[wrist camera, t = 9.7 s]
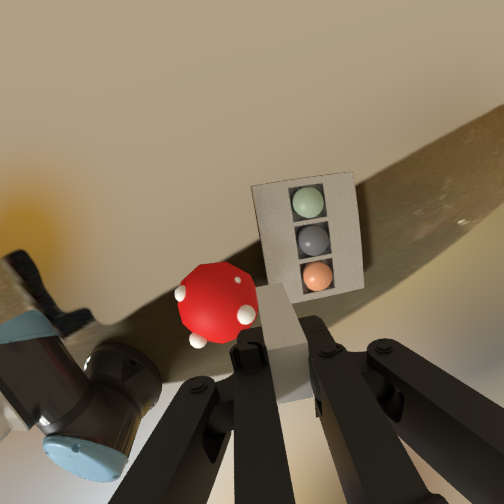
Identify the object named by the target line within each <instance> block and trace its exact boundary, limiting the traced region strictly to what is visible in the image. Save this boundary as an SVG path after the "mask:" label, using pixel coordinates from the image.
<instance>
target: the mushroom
mask: <svg viewBox="0 0 504 504" xmlns="http://www.w3.org/2000/svg"><path fill="white" fill-rule="evenodd" d="M255 287H256V286H255V284H254V282H253V280H252V278H251V276H250V274H248V273H246V272H244V271H242V270H241V269H239V268H237V267H235V266H233V265H231V264H230V263H228V262H219V263H210V264H201V265H199V266H198V267H196V268H195V269H194V270H193V271H192V272H191V273H190V274H189V275H188V276H187V277H185V278H184V279H183V280H182V281H181V285H180V286H179V287H178V288H177V289H176V290H175V299H176V300H177V301H178V309H179V312H180V316H181V320H182V323H183V324H184V325H185V326H186V327H187V328H188V329H189V330H190V331H191V332H192V334H191V335H190V338H189V341H190V344H191V345H192V346H193V347H194V348H202V347H204V346H205V345H206V344H207V341H211V342H216V343H222V344H223V343H226V342H228V341H231V340H234V339H236V338H237V335H238V334H239V332H240V331H241V330H243V329H249V328H250V326H251V325H252V324H253V322H254V321H255V319H256V317H257V312H258V308H259V306H258V300H257V294H256V288H255Z"/></svg>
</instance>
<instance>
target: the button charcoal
mask: <svg viewBox="0 0 504 504" xmlns="http://www.w3.org/2000/svg"><path fill="white" fill-rule="evenodd" d="M328 242H329V239H328V235H327V233H326V231H325V230H324V229H322V228H320V227H319V226H317V225H314V224H308V225H305V226H303V227H302V228H301V229H300V230H299V232H298V234H297V243H298V245H299V247H300V248H301V249H302V250H303V251H304V252H305V253H306V254H308V255H311V256H316V255H319V254H321V253H323V252H324V251H325V250H326V248H327V246H328Z"/></svg>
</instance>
